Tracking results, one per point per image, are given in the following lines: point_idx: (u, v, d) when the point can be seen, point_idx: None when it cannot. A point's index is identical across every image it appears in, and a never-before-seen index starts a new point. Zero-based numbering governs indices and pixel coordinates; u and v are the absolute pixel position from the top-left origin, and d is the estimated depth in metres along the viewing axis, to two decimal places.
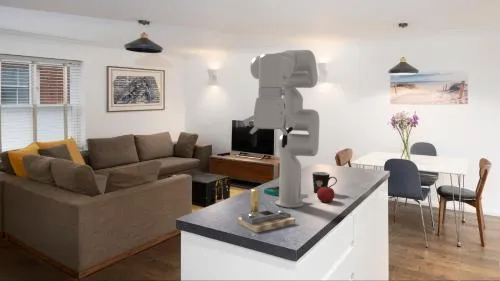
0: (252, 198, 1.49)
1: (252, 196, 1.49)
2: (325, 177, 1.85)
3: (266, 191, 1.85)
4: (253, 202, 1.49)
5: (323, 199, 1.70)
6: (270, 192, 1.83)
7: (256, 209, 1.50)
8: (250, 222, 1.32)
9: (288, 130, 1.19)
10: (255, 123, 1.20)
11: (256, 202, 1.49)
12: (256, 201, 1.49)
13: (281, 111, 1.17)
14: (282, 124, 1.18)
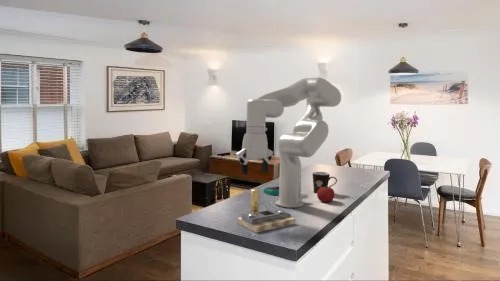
0: (252, 198, 1.49)
1: (252, 196, 1.49)
2: (325, 177, 1.85)
3: (265, 191, 1.86)
4: (253, 202, 1.49)
5: (323, 199, 1.70)
6: (268, 192, 1.84)
7: (256, 209, 1.50)
8: (250, 222, 1.32)
9: (268, 158, 1.52)
10: (249, 155, 1.45)
11: (256, 202, 1.49)
12: (256, 201, 1.49)
13: (266, 144, 1.49)
14: (267, 154, 1.50)
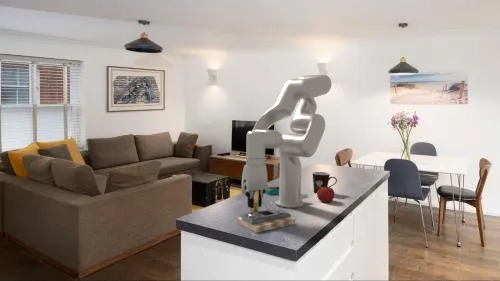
0: None
1: None
2: (325, 177, 1.85)
3: None
4: None
5: (323, 199, 1.70)
6: (267, 191, 1.84)
7: (256, 209, 1.50)
8: (250, 222, 1.32)
9: (262, 192, 1.52)
10: (249, 187, 1.46)
11: (256, 202, 1.49)
12: (256, 201, 1.49)
13: (266, 175, 1.50)
14: (266, 185, 1.51)
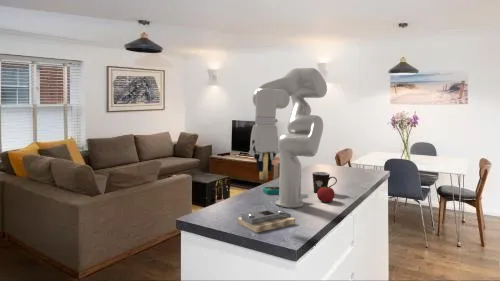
0: None
1: None
2: (325, 177, 1.85)
3: (263, 190, 1.88)
4: None
5: (323, 199, 1.70)
6: (265, 191, 1.85)
7: (265, 173, 1.39)
8: (250, 222, 1.32)
9: (272, 156, 1.41)
10: (258, 148, 1.35)
11: (265, 165, 1.38)
12: (265, 164, 1.38)
13: (277, 137, 1.39)
14: (277, 148, 1.40)
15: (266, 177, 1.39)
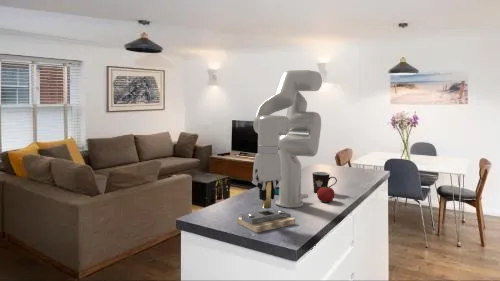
0: None
1: None
2: (325, 177, 1.85)
3: None
4: None
5: (323, 199, 1.70)
6: None
7: (268, 202, 1.37)
8: (250, 222, 1.32)
9: None
10: (261, 178, 1.34)
11: (269, 194, 1.37)
12: (269, 193, 1.37)
13: (280, 165, 1.38)
14: (280, 175, 1.39)
15: (269, 206, 1.38)
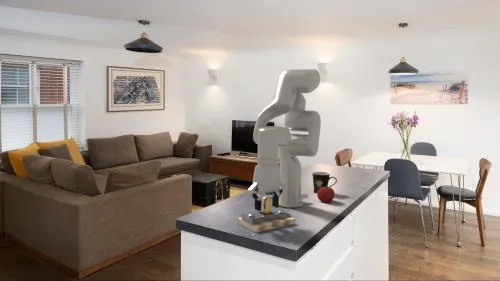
0: (264, 206, 1.38)
1: (264, 204, 1.38)
2: (325, 177, 1.85)
3: None
4: (265, 211, 1.38)
5: (323, 199, 1.70)
6: None
7: None
8: (250, 222, 1.32)
9: (280, 192, 1.41)
10: (261, 189, 1.34)
11: (268, 210, 1.38)
12: (268, 209, 1.38)
13: (279, 176, 1.39)
14: (280, 187, 1.39)
15: None
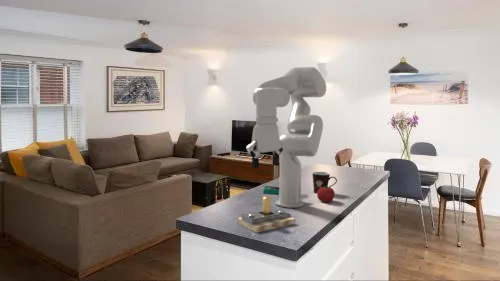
0: (264, 206, 1.38)
1: (264, 204, 1.38)
2: (325, 177, 1.85)
3: None
4: (265, 211, 1.38)
5: (323, 199, 1.70)
6: (263, 189, 1.88)
7: None
8: (250, 222, 1.32)
9: (280, 151, 1.43)
10: (260, 148, 1.35)
11: (268, 210, 1.38)
12: (268, 209, 1.38)
13: (278, 136, 1.40)
14: (278, 146, 1.41)
15: None
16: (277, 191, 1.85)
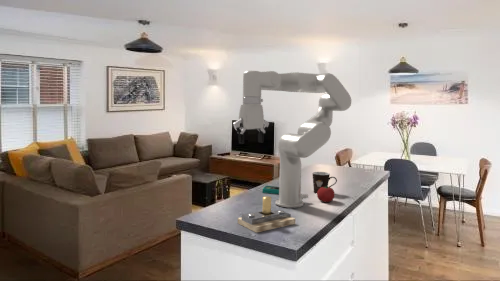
0: (264, 206, 1.38)
1: (264, 204, 1.38)
2: (325, 177, 1.85)
3: None
4: (265, 211, 1.38)
5: (323, 199, 1.70)
6: None
7: None
8: (250, 222, 1.32)
9: (264, 129, 1.57)
10: (245, 125, 1.50)
11: (268, 210, 1.38)
12: (268, 209, 1.38)
13: (262, 115, 1.54)
14: (263, 125, 1.55)
15: None
16: (276, 191, 1.86)
